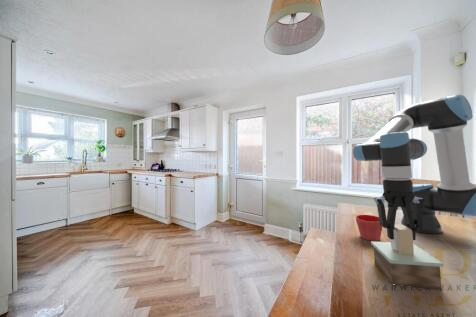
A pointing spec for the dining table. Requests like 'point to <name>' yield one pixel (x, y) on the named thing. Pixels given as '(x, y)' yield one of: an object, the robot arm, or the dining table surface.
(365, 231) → the flower pot
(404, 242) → the lid
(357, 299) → the dining table surface
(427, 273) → the crate
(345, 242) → the dining table surface
